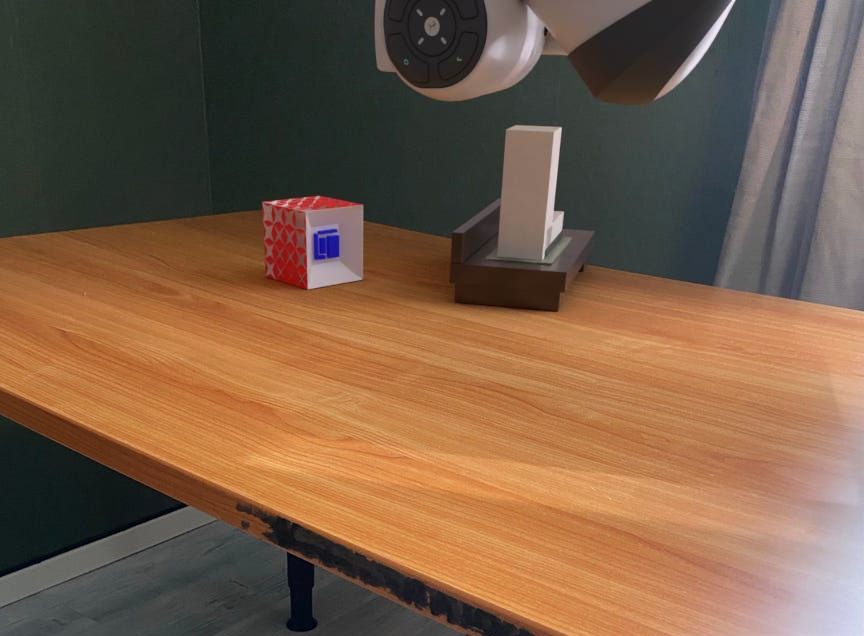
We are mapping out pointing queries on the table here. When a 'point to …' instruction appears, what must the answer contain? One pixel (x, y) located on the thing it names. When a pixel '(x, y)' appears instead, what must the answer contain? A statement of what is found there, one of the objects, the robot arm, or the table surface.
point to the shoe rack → (513, 266)
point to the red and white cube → (313, 241)
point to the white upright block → (529, 193)
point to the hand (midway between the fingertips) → (520, 25)
